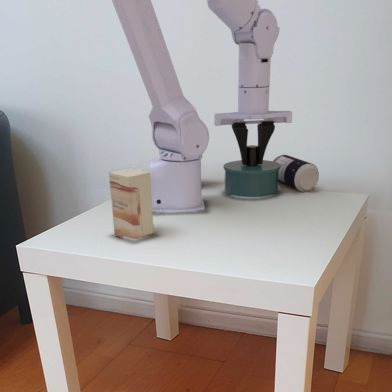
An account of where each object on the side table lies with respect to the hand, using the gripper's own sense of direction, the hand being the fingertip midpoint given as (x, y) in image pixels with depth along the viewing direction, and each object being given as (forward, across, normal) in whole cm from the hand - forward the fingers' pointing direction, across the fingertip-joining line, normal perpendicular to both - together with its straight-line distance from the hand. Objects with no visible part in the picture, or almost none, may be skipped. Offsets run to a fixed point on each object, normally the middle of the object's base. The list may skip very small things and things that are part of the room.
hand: (251, 163), depth 104 cm
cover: (+1, 0, 0) cm, 1 cm away
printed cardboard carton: (+6, -23, -24) cm, 34 cm away
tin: (+6, 0, 0) cm, 6 cm away
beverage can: (+3, +11, -3) cm, 12 cm away
